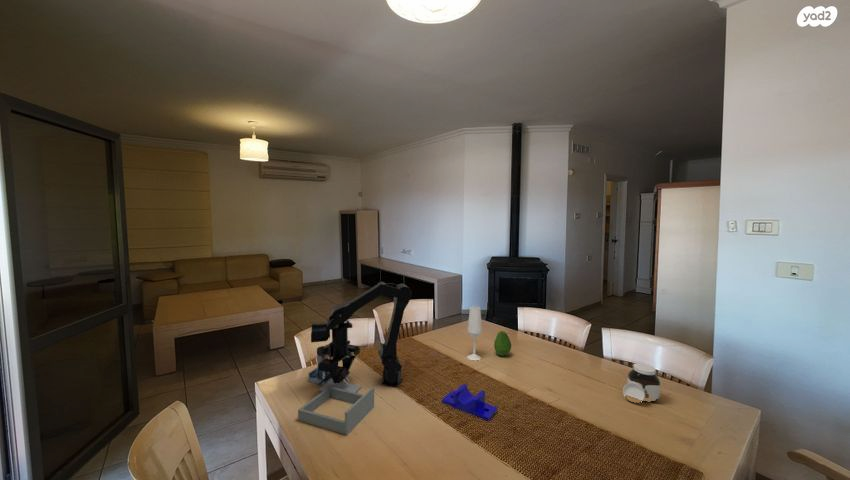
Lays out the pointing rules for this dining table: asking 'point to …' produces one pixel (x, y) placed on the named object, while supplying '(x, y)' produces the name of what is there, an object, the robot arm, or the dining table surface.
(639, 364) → the spread jar
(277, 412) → the dining table surface
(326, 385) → the mat
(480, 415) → the mounting bracket
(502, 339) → the avocado
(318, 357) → the dark gray cup
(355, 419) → the case
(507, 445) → the dining table surface
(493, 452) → the dining table surface
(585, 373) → the dining table surface
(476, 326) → the champagne flute
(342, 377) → the power plug
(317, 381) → the blue gray open box
